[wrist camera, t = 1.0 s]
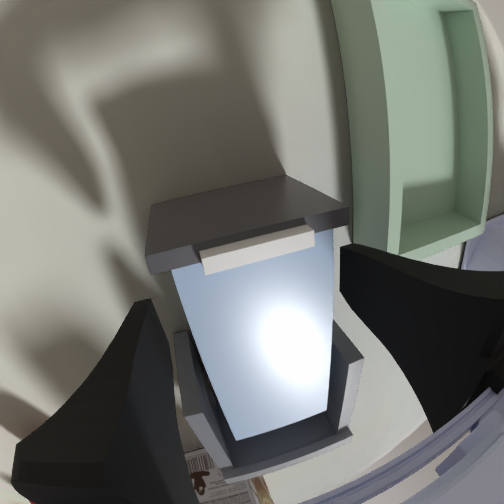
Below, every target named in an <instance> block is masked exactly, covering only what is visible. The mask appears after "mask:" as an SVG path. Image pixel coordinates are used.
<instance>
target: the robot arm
mask: <svg viewBox="0 0 504 504" xmlns="http://www.w3.org/2000/svg"><path fill="white" fill-rule="evenodd" d="M340 292H341V294H342V295H343V297H344V298H345V300H346V302H347V303H348V304H349V306H350V307H351V309H352V310H353V311H354V312H355V313H356V315H357V316H358V317H359V318H360V319H361V320H362V321H363V322H364V324H365V325H366V326H367V327H368V328H369V329H370V330H371V331H372V332H373V334H374V335H375V336H376V337H377V338H378V339H379V340H380V341H381V343H382V344H383V345H384V346H385V347H386V348H387V350H388V351H389V352H390V354H391V355H392V356H393V358H394V359H395V361H396V362H397V364H398V365H399V367H400V368H401V370H402V371H403V373H404V375H405V376H406V378H407V380H408V381H409V383H410V385H411V386H412V388H413V390H414V392H415V394H416V396H417V398H418V400H419V401H420V403H421V405H422V407H423V410H424V412H425V414H426V416H427V419H428V421H429V423H430V426H431V428H432V431H433V434H432V435H430V436H429V437H427V438H426V439H425V440H423V441H422V442H420V443H419V444H417V445H416V446H414V447H413V448H411V449H409V450H408V451H406V452H405V453H403V454H401V455H400V456H398V457H397V458H395V459H393V460H392V461H390V462H388V463H386V464H385V465H383V466H381V467H379V468H377V469H376V470H374V471H372V472H370V473H368V474H366V475H364V476H362V477H361V478H358V479H356V480H354V481H352V482H350V483H348V484H346V485H343V486H341V487H339V488H337V489H334V490H332V491H330V492H327V493H325V494H323V495H320V496H318V497H315V498H312V499H310V500H307V501H304V502H302V503H299V504H361V503H363V502H365V501H367V500H369V499H371V498H373V497H375V496H377V495H378V494H380V493H382V492H384V491H386V490H387V489H389V488H391V487H393V486H394V485H396V484H398V483H399V482H401V481H402V480H404V479H406V478H407V477H409V476H410V475H412V474H413V473H415V472H416V471H418V470H419V469H421V468H422V467H424V466H425V465H427V464H428V463H429V462H431V461H432V460H434V459H435V458H436V457H438V456H439V455H440V454H442V453H443V452H444V451H446V450H447V449H448V448H450V447H451V446H452V445H453V444H455V443H456V442H457V441H458V440H459V439H461V438H462V437H463V436H464V435H465V434H466V433H468V432H469V431H470V430H471V431H470V434H469V435H468V436H467V437H466V438H465V439H464V440H463V441H462V442H461V443H460V444H459V445H458V446H457V447H456V449H455V450H454V451H453V452H452V453H451V454H450V455H449V456H448V457H447V458H446V459H445V460H444V461H443V462H442V463H441V464H440V465H439V466H437V467H436V470H435V471H436V472H437V473H438V475H439V476H440V477H439V478H437V479H436V480H435V481H433V482H432V483H431V484H429V485H428V486H426V487H425V488H423V489H422V490H421V491H419V492H418V493H416V494H415V495H413V496H412V497H410V498H409V499H407V500H405V501H404V502H402V503H401V504H504V214H502V215H500V216H497V217H495V218H493V219H490V220H488V221H486V224H485V230H484V233H483V234H481V235H478V236H476V237H474V238H472V239H469V240H467V242H466V247H465V252H464V257H463V262H462V267H461V269H456V268H449V267H444V266H438V265H433V264H429V263H425V262H421V261H417V260H413V259H410V258H406V257H402V256H399V255H396V254H392V253H389V252H386V251H382V250H379V249H376V248H372V247H369V246H365V245H361V244H355V243H352V244H349V245H345V246H342V247H340ZM11 484H12V486H13V487H14V489H15V490H16V491H17V492H18V493H19V494H21V495H22V496H24V497H25V498H27V499H28V500H30V501H32V502H34V503H35V504H200V503H199V500H198V498H197V495H196V492H195V489H194V486H193V483H192V480H191V476H190V473H189V470H188V466H187V463H186V459H185V455H184V452H183V448H182V444H181V439H180V435H179V430H178V425H177V419H176V409H175V396H174V382H173V367H172V360H171V354H170V349H169V343H168V340H167V337H166V335H165V333H164V330H163V328H162V326H161V323H160V321H159V318H158V316H157V313H156V311H155V308H154V306H153V303H152V301H151V298H150V299H146V300H142V301H138V302H134V304H133V306H132V307H131V309H130V311H129V313H128V314H127V316H126V318H125V320H124V321H123V323H122V325H121V327H120V329H119V330H118V332H117V334H116V335H115V337H114V339H113V341H112V342H111V344H110V345H109V347H108V348H107V350H106V351H105V353H104V355H103V356H102V358H101V359H100V361H99V362H98V364H97V365H96V367H95V368H94V369H93V371H92V372H91V373H90V375H89V376H88V377H87V379H86V380H85V381H84V382H83V384H82V385H81V386H80V387H79V388H78V389H77V390H76V391H75V393H74V394H73V395H72V396H71V397H70V398H69V399H68V400H67V402H66V403H65V404H64V405H63V406H62V407H61V408H60V409H59V410H58V411H57V412H56V413H55V414H54V415H52V416H51V417H50V418H49V419H48V420H47V421H46V422H45V423H44V424H42V425H41V426H40V427H39V428H38V429H36V430H35V431H34V432H32V433H31V434H30V435H28V436H27V437H26V438H24V439H23V440H22V441H20V442H19V443H18V444H16V449H15V455H14V462H13V469H12V477H11Z"/></svg>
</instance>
